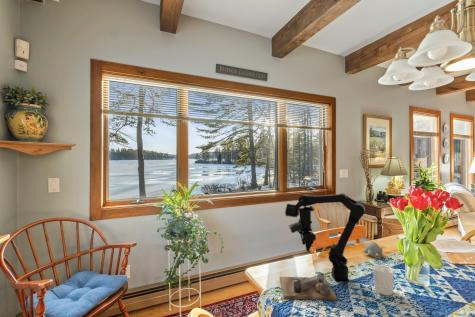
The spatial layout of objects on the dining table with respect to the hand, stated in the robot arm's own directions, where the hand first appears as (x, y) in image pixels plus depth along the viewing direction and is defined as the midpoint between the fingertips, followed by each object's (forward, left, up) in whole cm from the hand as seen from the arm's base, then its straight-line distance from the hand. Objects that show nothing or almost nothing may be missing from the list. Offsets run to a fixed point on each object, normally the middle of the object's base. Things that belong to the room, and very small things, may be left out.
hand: (305, 247), depth 123 cm
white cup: (-30, +18, -12) cm, 37 cm away
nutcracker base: (+4, +18, -12) cm, 22 cm away
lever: (+3, +19, -10) cm, 22 cm away
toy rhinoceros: (-46, -21, -12) cm, 52 cm away
